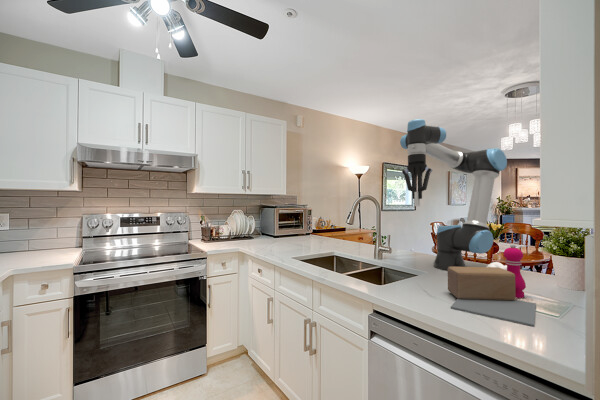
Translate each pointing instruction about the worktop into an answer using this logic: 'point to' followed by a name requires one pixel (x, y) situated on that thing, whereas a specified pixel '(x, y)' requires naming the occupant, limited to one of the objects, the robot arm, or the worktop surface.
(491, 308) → the mat
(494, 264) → the white decorative knot
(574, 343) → the worktop surface
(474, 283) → the block
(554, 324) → the worktop surface
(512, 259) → the pepper mill
